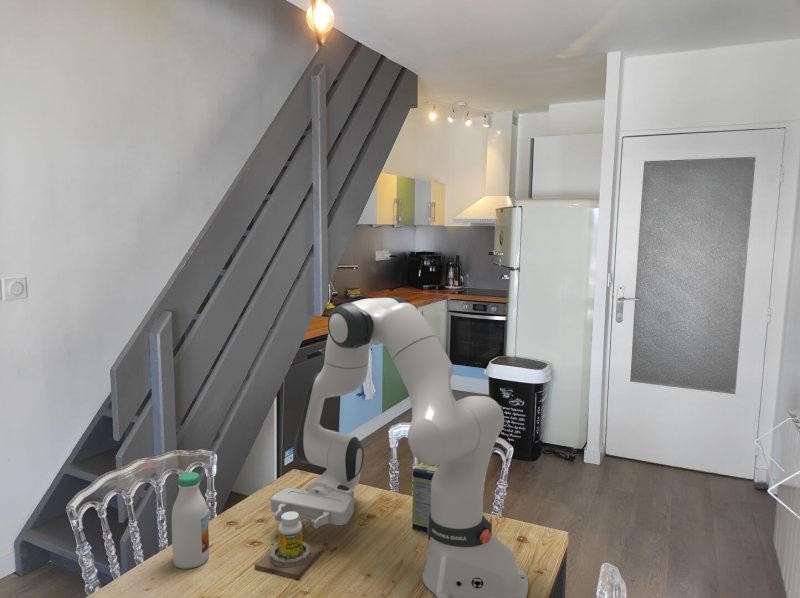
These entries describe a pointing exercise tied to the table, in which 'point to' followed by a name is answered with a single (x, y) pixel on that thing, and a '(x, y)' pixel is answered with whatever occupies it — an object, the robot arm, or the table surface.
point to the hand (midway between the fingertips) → (295, 521)
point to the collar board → (289, 561)
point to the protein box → (422, 495)
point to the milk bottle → (189, 524)
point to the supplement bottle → (290, 536)
